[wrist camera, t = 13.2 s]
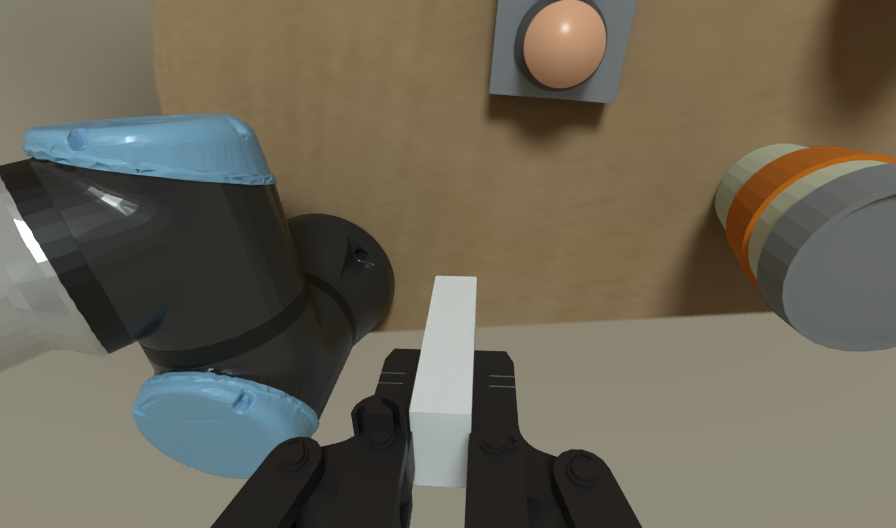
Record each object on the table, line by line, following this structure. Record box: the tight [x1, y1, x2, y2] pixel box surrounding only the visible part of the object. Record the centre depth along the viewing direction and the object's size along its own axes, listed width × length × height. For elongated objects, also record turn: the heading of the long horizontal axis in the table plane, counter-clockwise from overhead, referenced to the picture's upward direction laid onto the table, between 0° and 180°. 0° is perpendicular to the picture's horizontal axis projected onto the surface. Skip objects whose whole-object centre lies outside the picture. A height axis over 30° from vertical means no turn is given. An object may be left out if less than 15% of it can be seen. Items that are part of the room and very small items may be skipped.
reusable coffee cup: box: [715, 144, 896, 351], centre depth 34 cm, size 13×13×15 cm
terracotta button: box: [523, 0, 606, 88], centre depth 32 cm, size 6×6×2 cm
